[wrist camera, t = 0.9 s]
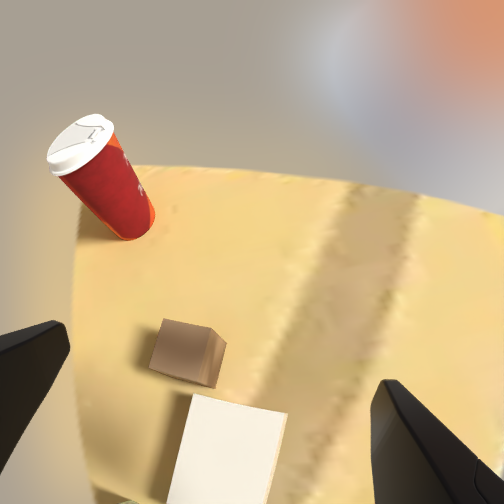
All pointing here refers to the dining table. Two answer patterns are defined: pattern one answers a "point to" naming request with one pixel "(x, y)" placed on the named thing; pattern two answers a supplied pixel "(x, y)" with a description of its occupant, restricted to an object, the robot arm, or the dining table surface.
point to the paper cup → (101, 176)
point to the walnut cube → (188, 353)
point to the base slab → (226, 454)
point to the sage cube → (129, 502)
